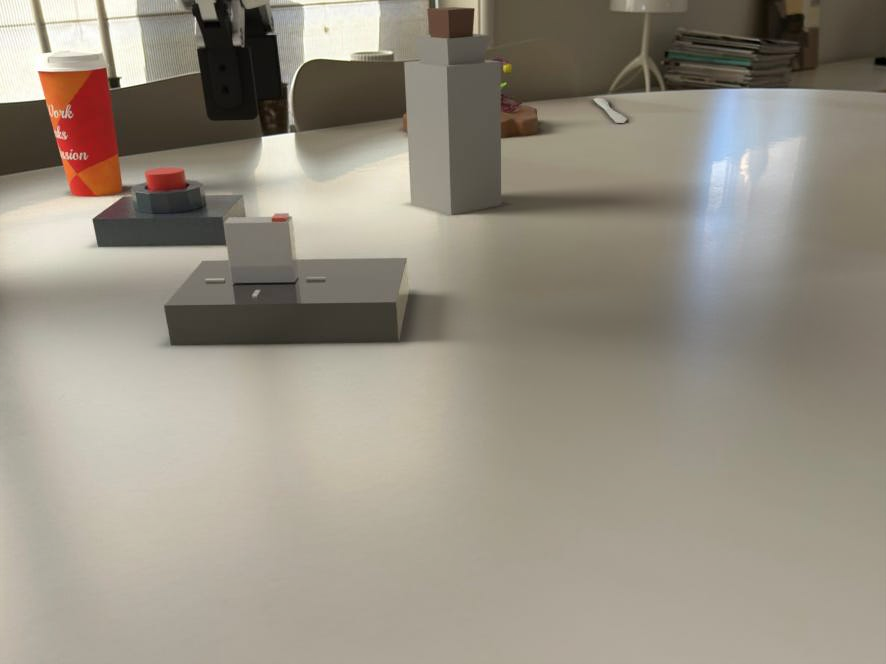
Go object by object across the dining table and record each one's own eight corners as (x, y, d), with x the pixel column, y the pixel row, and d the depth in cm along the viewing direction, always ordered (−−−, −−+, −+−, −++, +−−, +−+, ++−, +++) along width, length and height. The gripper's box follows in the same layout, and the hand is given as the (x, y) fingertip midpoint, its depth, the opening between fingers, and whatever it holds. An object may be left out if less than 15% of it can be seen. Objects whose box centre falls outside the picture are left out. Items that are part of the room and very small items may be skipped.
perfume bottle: (411, 206, 112) (401, 9, 102) (460, 197, 116) (456, 5, 106) (451, 217, 108) (445, 11, 98) (501, 207, 111) (500, 7, 101)
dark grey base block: (171, 348, 74) (163, 303, 73) (208, 299, 84) (201, 258, 83) (398, 345, 74) (395, 299, 72) (408, 296, 84) (406, 255, 82)
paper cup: (57, 191, 122) (26, 52, 114) (124, 184, 125) (99, 48, 117) (68, 203, 116) (36, 58, 108) (139, 196, 119) (113, 54, 111)
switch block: (98, 249, 99) (87, 198, 96) (128, 224, 107) (119, 177, 104) (226, 247, 98) (219, 195, 96) (246, 223, 107) (240, 175, 104)
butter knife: (610, 97, 179) (592, 96, 179) (632, 123, 156) (611, 122, 156) (609, 101, 179) (592, 100, 179) (631, 127, 157) (611, 126, 157)
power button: (143, 194, 99) (140, 174, 98) (153, 187, 102) (150, 167, 101) (182, 194, 99) (179, 173, 98) (191, 186, 102) (188, 166, 101)
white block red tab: (231, 283, 77) (222, 219, 74) (236, 277, 78) (227, 213, 76) (295, 282, 77) (287, 218, 74) (298, 276, 78) (291, 212, 76)
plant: (411, 120, 164) (407, 37, 158) (537, 118, 164) (538, 35, 157) (397, 141, 148) (392, 49, 141) (537, 140, 147) (539, 47, 141)
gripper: (176, -198, 69) (219, 95, 79) (95, -234, 55) (159, 130, 64) (291, -202, 69) (320, 92, 78) (240, -239, 55) (283, 126, 64)
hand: (248, 109), depth 71 cm, fingers open, 9 cm apart
